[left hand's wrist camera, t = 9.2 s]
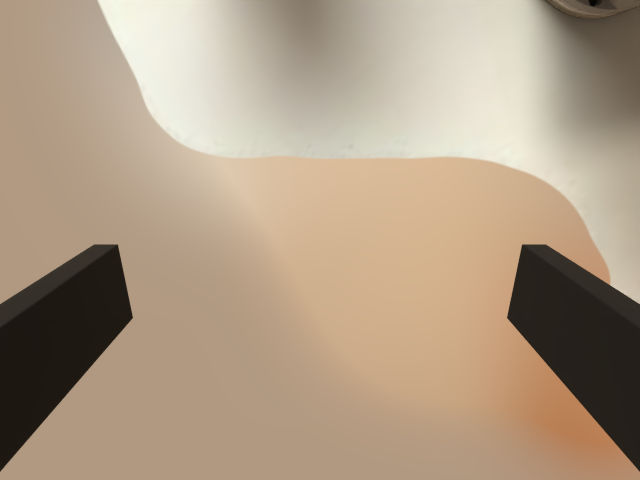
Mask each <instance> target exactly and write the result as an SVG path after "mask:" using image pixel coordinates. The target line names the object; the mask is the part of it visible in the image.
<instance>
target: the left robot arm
mask: <svg viewBox="0 0 640 480" xmlns="http://www.w3.org/2000/svg"><path fill="white" fill-rule="evenodd" d="M547 1H548V2H549V3H550V4H552V5H553V6H554V7H555V8H557V9H558V10H560V11H562V12H564V13H566V14H569V15H571V16H575V17H580V18H601V17H606V16H610V15H614V14H617V13H621V12H624V11H627V10H630V9H633V8H635V7H637V6H640V0H547ZM132 318H133V316H132V311H131V306H130V302H129V297H128V292H127V287H126V282H125V277H124V273H123V268H122V263H121V258H120V253H119V248H118V245H93V246H91V247H90V248H88V249H86V250H85V251H83V252H82V253H80V254H79V255H77V256H75V257H74V258H72V259H71V260H69V261H68V262H66V263H64V264H63V265H61V266H60V267H58V268H57V269H55V270H53V271H52V272H50V273H49V274H47V275H46V276H44V277H42V278H41V279H39V280H38V281H36V282H35V283H33V284H31V285H30V286H28V287H27V288H25V289H24V290H22V291H20V292H19V293H17V294H16V295H14V296H12V297H11V298H9V299H8V300H6V301H5V302H3V303H2V304H0V471H1V470H2V469H3V468H4V467H5V465H6V464H7V463H8V462H9V461H10V460H11V458H12V457H13V456H14V455H15V454H16V453H17V451H18V450H19V449H20V448H21V447H22V446H23V445H24V443H25V442H26V441H27V440H28V439H29V438H30V436H31V435H32V434H33V433H34V432H35V431H36V429H37V428H38V427H39V426H40V425H41V424H42V422H43V421H44V420H45V419H46V418H47V417H48V416H49V414H50V413H51V412H52V411H53V410H54V409H55V407H56V406H57V405H58V404H59V403H60V402H61V401H62V399H63V398H64V397H65V396H66V395H67V394H68V392H69V391H70V390H71V389H72V388H73V387H74V385H75V384H76V383H77V382H78V381H79V380H80V379H81V377H82V376H83V375H84V374H85V373H86V372H87V370H88V369H89V368H90V367H91V366H92V365H93V363H94V362H95V361H96V360H97V359H98V358H99V356H100V355H101V354H102V353H103V352H104V351H105V349H106V348H107V347H108V346H109V345H110V344H111V343H112V341H113V340H114V339H115V338H116V337H117V336H118V334H119V333H120V332H121V331H122V330H123V329H124V328H125V326H126V325H127V324H128V323H129V322H130V321H131V319H132ZM507 318H508V319H509V321H510V322H511V323H512V324H513V325H514V326H515V328H516V329H517V330H518V331H519V332H520V333H521V334H522V336H523V337H524V338H525V339H526V340H527V341H528V343H529V344H530V345H531V346H532V347H533V348H534V350H535V351H536V352H537V353H538V354H539V355H540V357H541V358H542V359H543V360H544V361H545V362H546V363H547V365H548V366H549V367H550V368H551V369H552V370H553V372H554V373H555V374H556V375H557V376H558V377H559V378H560V380H561V381H562V382H563V383H564V384H565V385H566V387H567V388H568V389H569V390H570V391H571V392H572V394H573V395H574V396H575V397H576V398H577V399H578V401H579V402H580V403H581V404H582V405H583V406H584V407H585V409H586V410H587V411H588V412H589V413H590V414H591V416H592V417H593V418H594V419H595V420H596V421H597V422H598V424H599V425H600V426H601V427H602V428H603V429H604V431H605V432H606V433H607V434H608V435H609V436H610V438H611V439H612V440H613V441H614V442H615V443H616V445H617V446H618V447H619V448H620V449H621V450H622V451H623V453H624V454H625V455H626V456H627V457H628V458H629V460H630V461H631V462H632V463H633V464H634V465H635V467H636V468H637V469H638V470H639V471H640V304H639V303H637V302H635V301H634V300H632V299H631V298H629V297H628V296H626V295H624V294H623V293H621V292H620V291H618V290H616V289H615V288H613V287H612V286H610V285H609V284H607V283H605V282H604V281H602V280H601V279H599V278H598V277H596V276H594V275H593V274H591V273H590V272H588V271H587V270H585V269H583V268H582V267H580V266H579V265H577V264H576V263H574V262H572V261H571V260H569V259H568V258H566V257H565V256H563V255H561V254H560V253H558V252H557V251H555V250H554V249H552V248H550V247H549V246H547V245H522V248H521V253H520V258H519V263H518V268H517V272H516V277H515V282H514V287H513V292H512V297H511V302H510V306H509V311H508V316H507Z"/></svg>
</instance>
